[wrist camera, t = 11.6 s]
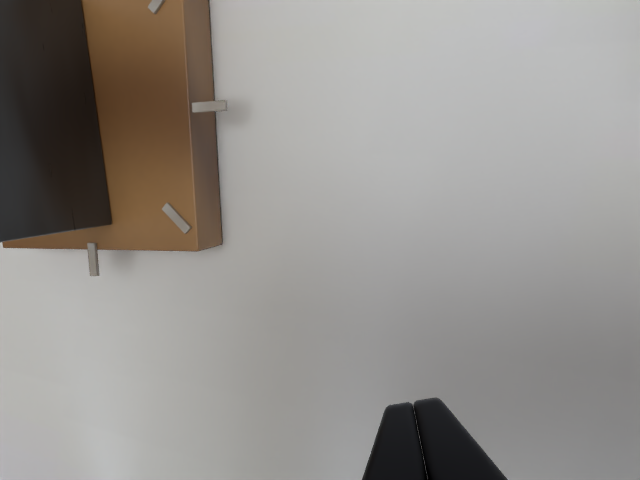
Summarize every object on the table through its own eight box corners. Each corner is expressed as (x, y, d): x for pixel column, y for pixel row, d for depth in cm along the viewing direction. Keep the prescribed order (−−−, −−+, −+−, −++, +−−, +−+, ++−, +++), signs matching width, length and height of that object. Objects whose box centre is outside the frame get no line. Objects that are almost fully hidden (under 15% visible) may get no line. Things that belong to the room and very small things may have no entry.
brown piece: (258, 270, 23) (234, 281, 21) (14, 263, 27) (-25, 272, 25) (242, -63, 21) (215, -87, 19) (-15, -17, 26) (-60, -32, 24)
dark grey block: (113, 224, 23) (-55, 251, 16) (81, 227, 23) (-94, 254, 16) (81, -3, 22) (-112, -78, 15) (49, 5, 22) (-152, -64, 15)
